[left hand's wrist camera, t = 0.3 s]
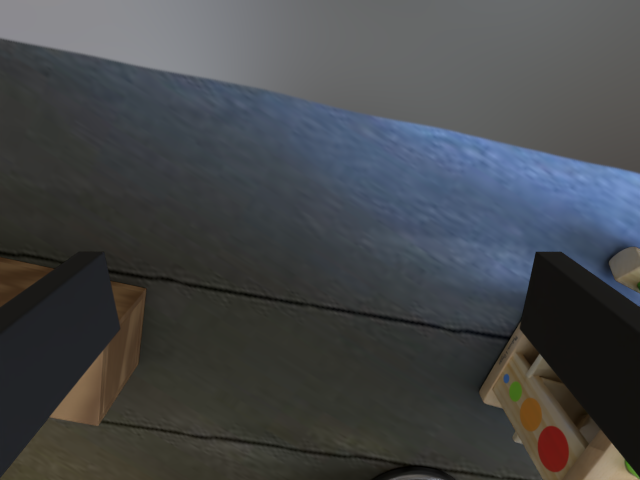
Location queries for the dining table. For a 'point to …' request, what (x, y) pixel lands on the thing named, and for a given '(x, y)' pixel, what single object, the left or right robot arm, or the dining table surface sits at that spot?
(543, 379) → the pounding bench toy
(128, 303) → the cabinet
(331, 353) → the dining table surface
